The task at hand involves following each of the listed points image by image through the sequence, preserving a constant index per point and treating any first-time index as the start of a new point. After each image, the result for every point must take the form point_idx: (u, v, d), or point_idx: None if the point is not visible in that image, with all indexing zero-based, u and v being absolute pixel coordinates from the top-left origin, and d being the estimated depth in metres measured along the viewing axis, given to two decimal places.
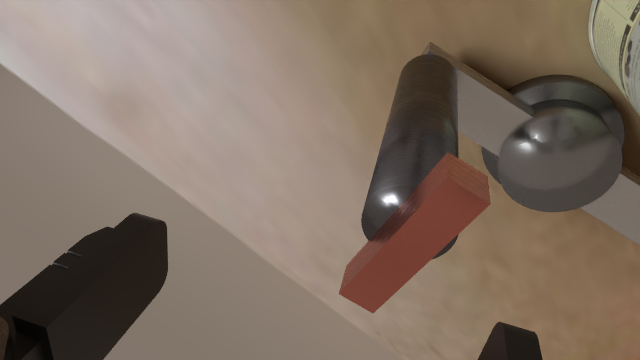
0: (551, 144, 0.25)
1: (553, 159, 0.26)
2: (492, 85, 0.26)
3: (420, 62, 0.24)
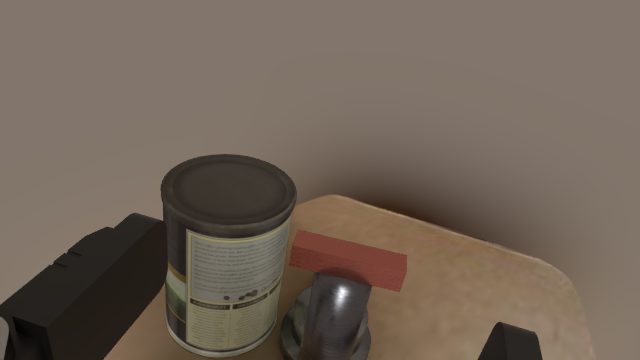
0: None
1: None
2: None
3: None
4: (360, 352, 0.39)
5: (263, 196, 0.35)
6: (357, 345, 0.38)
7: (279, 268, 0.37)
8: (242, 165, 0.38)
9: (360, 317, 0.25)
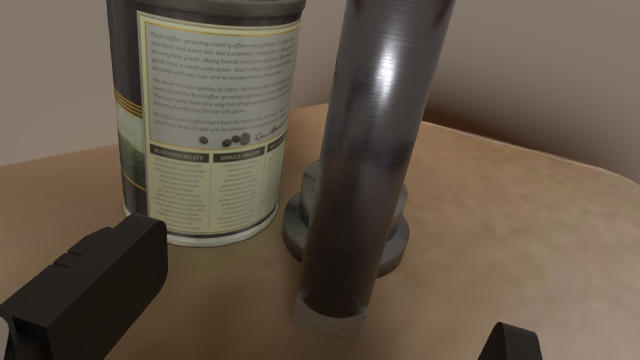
0: None
1: None
2: None
3: (308, 282, 0.18)
4: (396, 241, 0.27)
5: None
6: (393, 227, 0.26)
7: (281, 112, 0.25)
8: None
9: (433, 63, 0.14)
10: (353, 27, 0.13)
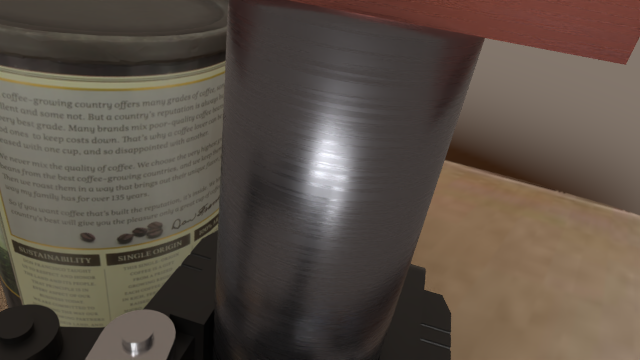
0: None
1: None
2: None
3: None
4: None
5: (169, 16, 0.16)
6: None
7: (214, 185, 0.18)
8: None
9: (419, 216, 0.06)
10: (233, 142, 0.06)
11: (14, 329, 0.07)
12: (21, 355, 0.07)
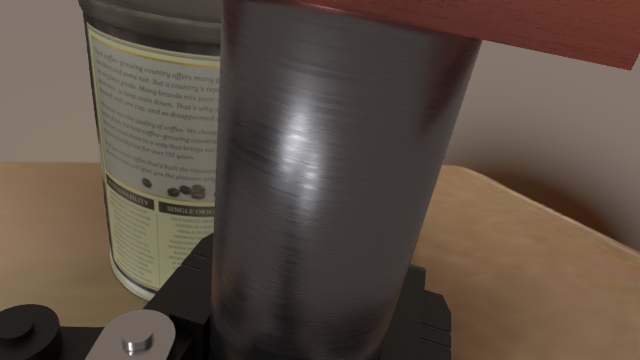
0: None
1: None
2: None
3: None
4: None
5: None
6: None
7: None
8: None
9: (410, 223, 0.06)
10: (223, 138, 0.06)
11: (14, 329, 0.07)
12: (21, 355, 0.07)
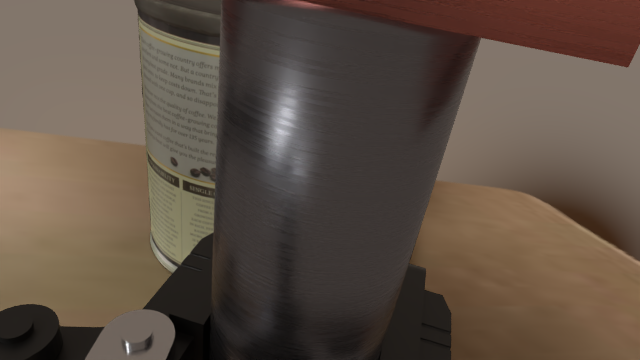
0: None
1: None
2: None
3: None
4: None
5: None
6: None
7: None
8: None
9: (410, 221, 0.06)
10: (223, 138, 0.06)
11: (13, 329, 0.07)
12: (21, 355, 0.07)
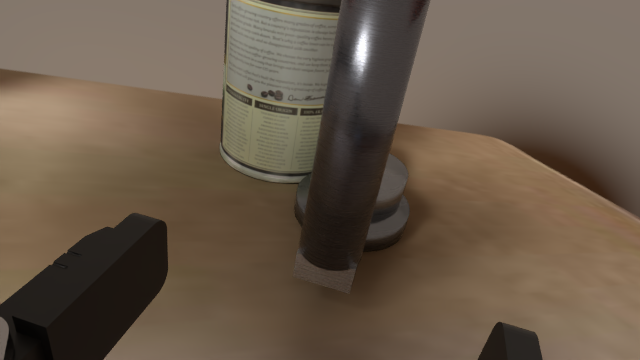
0: None
1: None
2: None
3: (307, 238, 0.21)
4: (373, 227, 0.29)
5: None
6: (393, 205, 0.29)
7: (319, 86, 0.31)
8: None
9: (410, 51, 0.17)
10: (345, 19, 0.16)
11: None
12: None
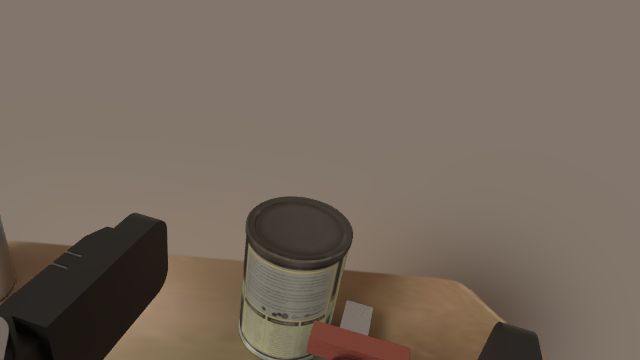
0: None
1: None
2: None
3: None
4: None
5: (316, 243, 0.41)
6: None
7: (314, 308, 0.43)
8: (326, 214, 0.45)
9: None
10: None
11: None
12: None
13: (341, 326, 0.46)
